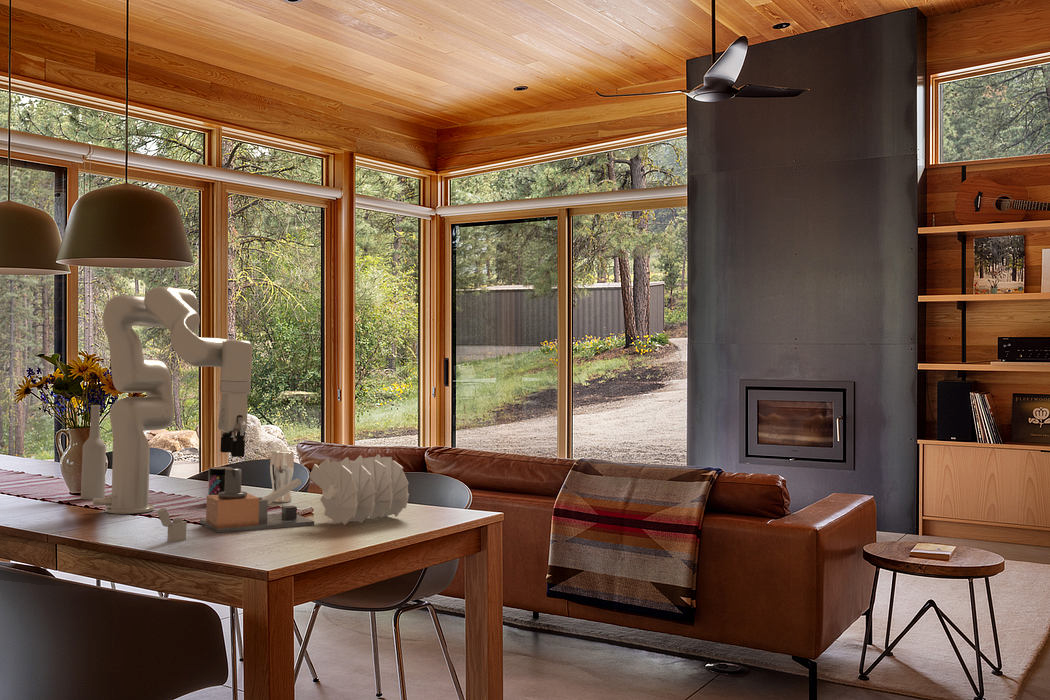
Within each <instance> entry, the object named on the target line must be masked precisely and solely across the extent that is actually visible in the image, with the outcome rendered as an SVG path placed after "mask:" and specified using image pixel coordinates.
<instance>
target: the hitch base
mask: <svg viewBox="0 0 1050 700" xmlns="http://www.w3.org/2000/svg"><path fill="white" fill-rule="evenodd" d="M263 498H264V497H261V496H260V497H258V496H255V495H252V494H250V493H248V492H247V497H245V498H237V499H224V498H219V497H218V495H208V494H207V495H206V506H205V508H206V512H205V518H200V519H199V523H200V524H201V525H203V526H204V527H206V528H208V529H209V530H211V531H213V532H214V533H216V534H221V533H233V532H234V533H235V532H236V533H237V532H246V531H256V530H257V531H259V530H260V531H261V530H271V529H283V528H296V527H308V526H315V520H312V519H310V518H307V517H304V516H303V515H300V514H298V511H297V509H298V507H297V506H295V505H282V506H281V513H271V514H269V513H268V507H269V506H268V505H269V504H268V500H261V499H263Z"/></svg>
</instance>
